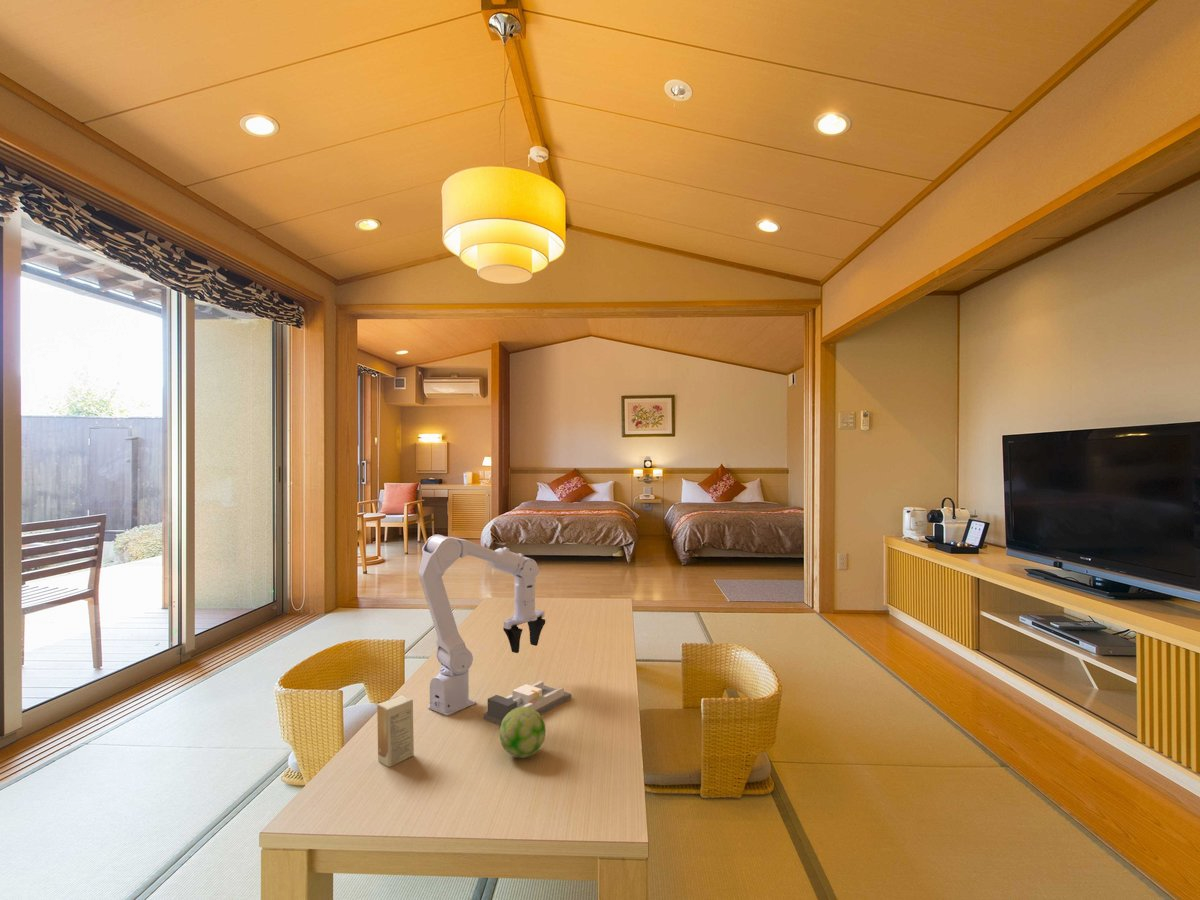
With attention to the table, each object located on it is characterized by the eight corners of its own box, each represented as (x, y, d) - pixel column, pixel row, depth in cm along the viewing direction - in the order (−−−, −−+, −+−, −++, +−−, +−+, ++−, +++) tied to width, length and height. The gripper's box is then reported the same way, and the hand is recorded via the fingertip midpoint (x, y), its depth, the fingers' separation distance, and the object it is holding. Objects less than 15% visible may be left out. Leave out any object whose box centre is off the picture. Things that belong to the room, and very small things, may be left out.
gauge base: (512, 729, 136) (512, 707, 137) (483, 718, 142) (483, 697, 142) (571, 698, 154) (571, 678, 154) (543, 689, 160) (543, 670, 160)
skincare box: (403, 749, 127) (403, 693, 128) (414, 756, 125) (414, 698, 125) (376, 761, 122) (376, 703, 123) (387, 768, 120) (387, 708, 120)
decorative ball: (502, 770, 119) (502, 721, 119) (497, 747, 128) (497, 701, 129) (549, 763, 121) (549, 715, 122) (541, 741, 131) (541, 696, 131)
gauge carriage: (524, 715, 141) (524, 699, 141) (504, 708, 145) (504, 692, 145) (546, 704, 147) (546, 689, 147) (525, 697, 151) (525, 682, 151)
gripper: (516, 607, 155) (516, 658, 155) (552, 596, 167) (552, 644, 166) (498, 603, 159) (498, 653, 159) (534, 593, 171) (534, 639, 171)
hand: (524, 648), depth 163 cm, fingers open, 7 cm apart
